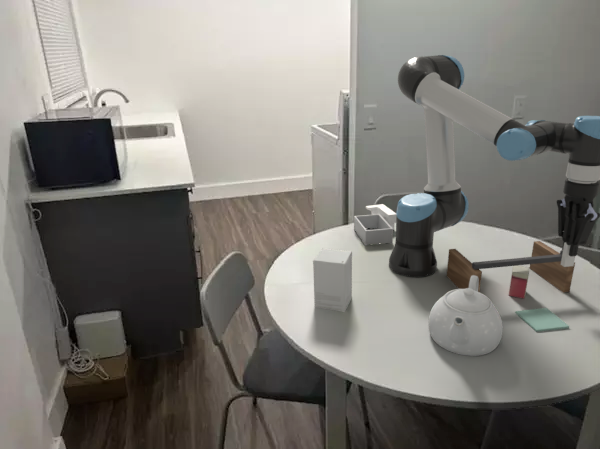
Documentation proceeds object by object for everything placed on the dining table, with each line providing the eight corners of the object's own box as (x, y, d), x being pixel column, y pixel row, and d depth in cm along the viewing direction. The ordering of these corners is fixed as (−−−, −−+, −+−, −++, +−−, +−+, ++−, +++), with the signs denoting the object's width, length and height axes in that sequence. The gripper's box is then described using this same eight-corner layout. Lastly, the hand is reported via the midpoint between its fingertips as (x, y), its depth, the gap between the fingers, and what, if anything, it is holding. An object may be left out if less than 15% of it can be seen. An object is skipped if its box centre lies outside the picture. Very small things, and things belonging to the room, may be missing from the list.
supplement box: (352, 298, 135) (353, 250, 129) (345, 313, 127) (345, 264, 122) (322, 293, 138) (322, 247, 132) (313, 308, 130) (312, 260, 124)
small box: (509, 288, 137) (513, 264, 135) (525, 291, 136) (529, 266, 133) (508, 296, 133) (511, 271, 130) (524, 299, 131) (528, 274, 129)
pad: (535, 332, 116) (536, 329, 116) (515, 313, 125) (515, 311, 125) (568, 328, 118) (569, 326, 117) (546, 309, 126) (546, 307, 126)
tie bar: (475, 270, 128) (476, 262, 127) (471, 266, 130) (472, 258, 129) (572, 260, 132) (574, 253, 131) (566, 257, 134) (568, 249, 133)
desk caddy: (365, 246, 169) (365, 231, 167) (353, 230, 184) (354, 216, 182) (392, 244, 170) (393, 228, 168) (378, 228, 185) (379, 214, 183)
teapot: (521, 351, 109) (530, 300, 105) (452, 367, 105) (458, 315, 100) (472, 311, 126) (477, 266, 121) (411, 323, 122) (414, 277, 117)
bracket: (382, 220, 194) (365, 222, 192) (383, 204, 191) (365, 206, 189) (396, 231, 182) (378, 233, 180) (397, 214, 179) (378, 216, 177)
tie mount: (471, 302, 131) (475, 272, 127) (446, 276, 145) (449, 249, 142) (569, 291, 134) (575, 262, 131) (535, 267, 149) (539, 241, 146)
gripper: (616, 185, 111) (597, 274, 119) (577, 172, 123) (563, 254, 131) (587, 187, 110) (570, 277, 118) (551, 174, 122) (538, 256, 130)
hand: (566, 265), depth 125 cm, fingers closed
